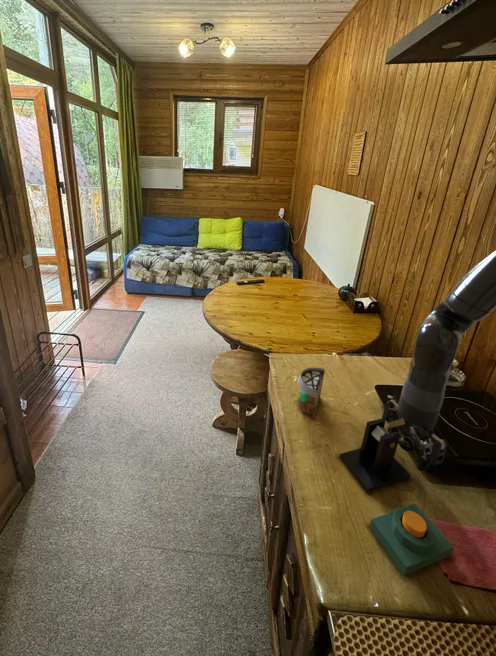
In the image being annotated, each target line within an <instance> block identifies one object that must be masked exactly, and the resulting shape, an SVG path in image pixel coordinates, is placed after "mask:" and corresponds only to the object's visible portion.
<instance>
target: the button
mask: <svg viewBox="0 0 496 656" xmlns="http://www.w3.org/2000/svg"><path fill="white" fill-rule="evenodd" d="M402 525H403V527H404V529H405V530H406V531H407V532H408V533H409V534H410V535H412V536H413V537H415V538H422V537H424V535H425V532H426V529H427V525H426V523H425V521H424V519H423V518H422V517H421V516H420V515H418V514H417V513H415V512H413V511H406V512H405V513H404V515H403V519H402Z"/></svg>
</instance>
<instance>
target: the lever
mask: <svg viewBox="0 0 496 656" xmlns="http://www.w3.org/2000/svg"><path fill="white" fill-rule="evenodd" d="M387 430H388V429H386V428H385V427H384V428H383V427H380V426H377V427H376V428H375V429H374V431H373V432H372V433H371V434H372V435H373V436H374V437H375V438H376V439H377V440H378V441H380V437H381V436H383V435H386V434H390V433H389V432H388V431H387ZM398 445H399V447H400V448H401V449H402V451H405V452H412V451H414V449H415V447H416V444H415V441H414V440H413V439H412V438H411V437H410V436H407V435H402V436H400V438H399V442H398Z"/></svg>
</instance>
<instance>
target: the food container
mask: <svg viewBox="0 0 496 656" xmlns="http://www.w3.org/2000/svg"><path fill="white" fill-rule="evenodd" d="M325 373H326V370H325V368H322V367H308V368H304V369H303V370H302V372H301V373H300V374H299V376H298V379H297V385H298V387H299V397H298V406H299V409H300V410H301V412H302V413H303V414H304V415H306V416H307V417H308V418H311V419H314V416H315V413H316V411H317V408H318V405H319V402H320V400H321V395H322V394H321V393H322V388H323V383H324V377H325Z"/></svg>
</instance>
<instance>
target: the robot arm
mask: <svg viewBox="0 0 496 656" xmlns="http://www.w3.org/2000/svg"><path fill="white" fill-rule="evenodd" d="M494 310H496V249H494V251H492V252H490V253H489V254H488V255H487V256H485V257H483V259H481V260H480V261H479V262H477V263H476V264H475V265H474V266H473V267H471V269H469V270H468V271H467V272H466V273H465V274H464V275H463V277H461V279H460V280H459V281H458V282H457V283H456V284H455V286H454V287H453V288H452V289H451V291H450V292H449V293H448V294H447V296H446V297H445V299H444V300H442V301H441V302H440V303H439V304H438V305H437V306H436V307H434V308H433V310H432V311H431V312H430V313H429V314H427V316H426V317H425V318H424V319H423V320H422V322H421V324H420V326H419V328H418V330H417V333H416V336H415V339H414V340H415V341H414V346H413V354H412V358H411V361H410V363H409V368H408V372H407V376H406V377H405V379H404V382H403V386H402V389H401V393H400V397H399V400H398V399H390V400H387V401H386V403H385V406H384V409H383V411H382V412H383V413H382V416H381V418H383V419H384V420H385V421H386V422H385V423H387V425H386V426H387V429H386V430H387V431H388V432H389V433H394V432H398V433H399V429H400V428H399V427H401V430H402V431H403V432H404V433H406V434H407V435H408V437H410V438H411V439H412V440H413V441H414V444H415V447H416V448H417V449H418V450H419V454H420V456H419V460H418V462H417V466H416V469H417V470H418V471H419V472H425V471H429V470H430V469H431V465H432V466H437V465H440V464H443V463H444V461H445V457H446V453H447V449H448V444H449V443H448V441H447V439H445V438H439V437H438V435H436V434H435V431H434V428H435V427H436V425H437V422H438V419H439V416H440V413H441V409H442V406H443V404H444V403H443V402H444V399H445V394H446V388H447V385H448V382H449V379H450V374H451V367H452V366H453V363H454V360H455V358H456V356H457V353H458V351H459V347H460V344H461V339H462V337H463V336H464V335H465V333H466V332H467V331H468V330H469V329H470V328H471V327H472V326H473V325H474V324H475V323H476V322H481V321H483V320H484V319H486V317H488V316H489V315H490V314H491V313H492V312H493V311H494ZM395 415H397V418H398V419H396V420H395V419H394V418H395ZM422 441H424V442H422Z"/></svg>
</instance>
